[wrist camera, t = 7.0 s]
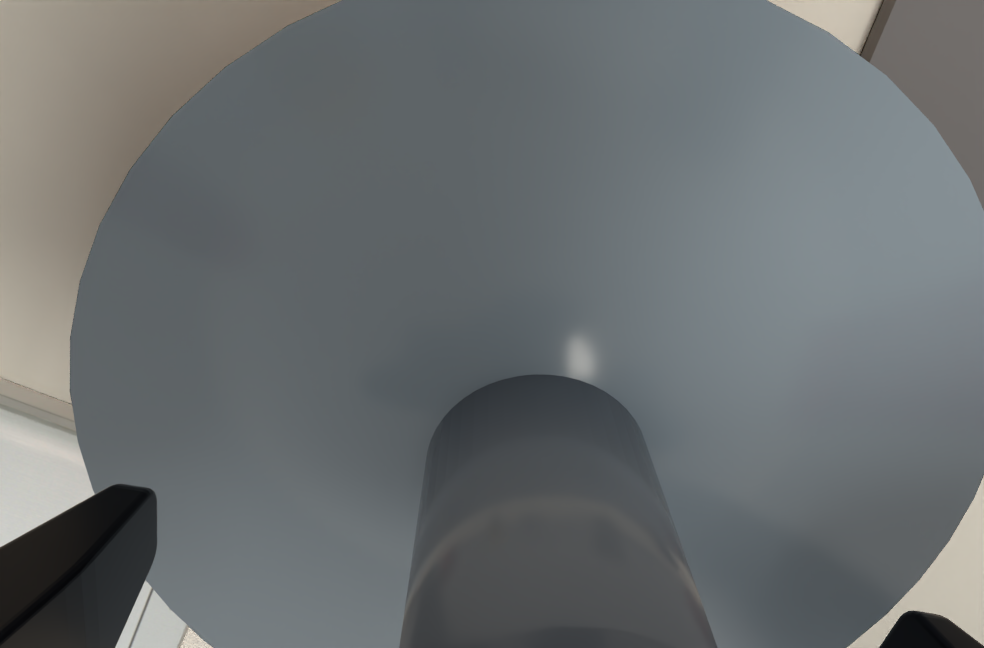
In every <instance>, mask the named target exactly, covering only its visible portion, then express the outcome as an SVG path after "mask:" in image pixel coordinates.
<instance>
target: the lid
mask: <svg viewBox="0 0 984 648" xmlns="http://www.w3.org/2000/svg"><path fill="white" fill-rule="evenodd" d="M70 394H71V401H72V407H73V414H74V420H75V427H76V433H77V440H78V444H79V447H80V451H81V454H82V457H83V460H84V463H85V467H86V470H87V473H88V476H89V479H90V482H91V486H92V489H93V491H94V493H95V494H97V493H98V492H100V491H102V490H104V489H106V488H107V487H109V486H112V485H115V484H128V485H134V486H140V487H146V488H150V489H152V490H153V491H154V492H155V494H156V497H157V550H156V554H155V558H154V561H153V564H152V566H151V569H150V571H149V573H148V575H147V578H146V581H147V582H148V584H149V585H150V586H151V587H152V588H153V589H154V591H155V592H156V593H157V594H158V595H159V596H160V598H161V599H162V600H163V601H164V602H165V603H166V605H167V606H168V607H169V608H170V609H171V610H172V611H173V612H174V613H175V614H176V615H177V616H178V617H179V618H180V619H181V620H182V621H184V622H185V623H186V624H187V625H188V626H189V627H190V628H191V629H192V630H193V631H194V632H195V633H197V634H198V635H199V636H200V637H201V638H202V639H203V640H204V641H205V642H207V643H208V644H209V645H211V646H212V647H213V648H846V647H848V646H849V645H850V644H852V643H853V642H854V641H855V640H856V639H858V638H859V637H860V636H861V635H862V634H863V633H865V632H866V631H867V630H868V629H869V628H871V627H872V626H873V625H874V624H875V623H877V622H878V621H879V620H880V619H881V618H883V617H884V616H885V615H886V614H887V613H888V612H889V611H890V610H891V609H892V608H893V607H894V606H895V605H896V604H897V603H898V602H899V601H900V599H901V598H902V597H903V596H904V595H905V594H906V593H907V592H908V591H909V590H910V589H911V588H912V587H913V586H914V585H915V584H916V583H917V582H918V581H919V580H920V578H921V577H922V576H923V574H924V573H925V572H926V570H927V569H928V568H929V567H930V565H931V564H932V563H933V561H934V560H935V559H936V557H937V556H938V555H939V553H940V552H941V551H942V549H943V548H944V547H945V546H946V544H947V543H948V542H949V540H950V538H951V537H952V535H953V533H954V532H955V530H956V528H957V526H958V525H959V523H960V521H961V520H962V518H963V516H964V514H965V513H966V511H967V509H968V507H969V506H970V504H971V502H972V501H973V499H974V497H975V495H976V492H977V490H978V487H979V485H980V483H981V480H982V478H983V475H984V210H983V208H982V206H981V203H980V201H979V199H978V197H977V194H976V192H975V190H974V187H973V185H972V183H971V181H970V178H969V177H968V175H967V174H966V173H965V171H964V170H963V168H962V167H961V165H960V164H959V162H958V161H957V159H956V158H955V156H954V155H953V153H952V152H951V150H950V149H949V147H948V146H947V144H946V143H945V141H944V140H943V138H942V137H941V135H940V134H939V132H938V131H937V129H936V128H935V126H934V125H933V124H932V123H931V122H930V121H929V119H928V118H927V117H926V116H925V115H924V114H923V113H922V112H921V111H920V110H919V109H918V108H917V107H916V106H915V105H914V104H913V103H912V102H911V101H910V100H909V99H908V97H907V96H906V95H905V94H904V93H903V92H902V91H901V90H900V89H899V88H898V87H897V86H896V85H895V84H894V83H893V82H892V81H891V80H890V79H889V78H888V77H887V76H886V75H885V74H884V73H882V72H881V71H880V70H878V69H877V68H876V67H874V66H873V65H872V64H870V63H869V62H868V61H866V60H865V59H864V58H862V57H861V56H860V55H858V54H857V53H856V52H854V51H853V50H852V49H850V48H849V47H847V46H846V45H845V44H843V43H842V42H841V41H839V40H838V39H837V38H835V37H834V36H833V35H831V34H830V33H829V32H827V31H825V30H823V29H821V28H819V27H817V26H815V25H813V24H811V23H809V22H807V21H805V20H804V19H802V18H800V17H798V16H796V15H794V14H792V13H790V12H788V11H786V10H784V9H782V8H780V7H778V6H776V5H774V4H772V3H771V2H769V1H767V0H342V1H340V2H338V3H335V4H333V5H331V6H329V7H327V8H325V9H323V10H320V11H318V12H316V13H314V14H312V15H310V16H307V17H305V18H303V19H301V20H299V21H297V22H295V23H292V24H290V25H288V26H287V27H285V28H283V29H282V30H280V31H279V32H277V33H276V34H274V35H273V36H271V37H270V38H268V39H267V40H265V41H264V42H262V43H261V44H259V45H258V46H256V47H255V48H253V49H252V50H250V51H249V52H247V53H246V54H244V55H243V56H241V57H240V58H238V59H237V60H235V61H234V62H232V63H231V64H229V65H228V66H226V67H225V68H224V69H223V70H222V71H221V72H219V73H218V74H217V75H216V76H215V77H214V78H213V79H212V80H211V81H210V82H209V83H207V84H206V85H205V86H204V87H203V88H202V89H201V90H200V91H199V92H198V93H197V94H196V95H194V96H193V97H192V98H191V99H190V100H189V101H188V102H187V103H186V104H185V105H184V106H182V107H181V108H180V109H179V110H178V111H177V112H176V113H175V114H174V115H173V116H172V117H171V118H170V119H169V121H168V122H167V123H166V124H165V126H164V127H163V128H162V129H161V131H160V132H159V133H158V135H157V136H156V137H155V138H154V140H153V141H152V142H151V143H150V145H149V146H148V147H147V149H146V150H145V151H144V152H143V154H142V155H141V156H140V157H139V159H138V160H137V161H136V163H135V164H134V165H133V166H132V168H131V169H130V171H129V172H128V174H127V176H126V178H125V180H124V182H123V183H122V185H121V187H120V189H119V191H118V192H117V194H116V196H115V198H114V200H113V202H112V203H111V205H110V207H109V209H108V211H107V212H106V214H105V216H104V218H103V220H102V222H101V223H100V225H99V228H98V231H97V234H96V237H95V240H94V243H93V245H92V248H91V251H90V254H89V257H88V260H87V263H86V265H85V268H84V271H83V274H82V277H81V280H80V284H79V290H78V296H77V301H76V307H75V313H74V319H73V325H72V331H71V336H70Z"/></svg>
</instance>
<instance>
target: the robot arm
mask: <svg viewBox="0 0 984 648" xmlns="http://www.w3.org/2000/svg"><path fill="white" fill-rule="evenodd" d="M156 550H157V497H156V494H155V492H154V491H153V490H152V489H150V488H146V487H140V486H134V485H128V484H115V485H112V486H109V487H107V488H106V489H104V490H102V491H100V492H98V493H97V494H95V495H93V496H91V497H89V498H88V499H86V500H84V501H82V502H80V503H79V504H77V505H75V506H73V507H71V508H70V509H68V510H66V511H64V512H62V513H61V514H59V515H57V516H55V517H53V518H52V519H50V520H48V521H46V522H44V523H43V524H41V525H39V526H37V527H35V528H34V529H32V530H30V531H28V532H26V533H25V534H23V535H21V536H19V537H17V538H16V539H14V540H12V541H10V542H8V543H7V544H5V545H3V546H1V547H0V648H115V647H116V645H117V643H118V640H119V638H120V636H121V634H122V631H123V629H124V627H125V625H126V622H127V620H128V618H129V616H130V613H131V611H132V609H133V607H134V605H135V602H136V600H137V598H138V596H139V593H140V591H141V589H142V587H143V584H144V582H145V580H146V578H147V575H148V573H149V571H150V569H151V566H152V564H153V561H154V558H155V554H156ZM879 648H984V646H983V645H982V644H980V643H979V642H978V641H976V640H975V639H974V638H972V637H971V636H970V635H968V634H967V633H966V632H965V631H963V630H962V629H961V628H959V627H958V626H957V625H955V624H954V623H953V622H951V621H950V620H949V619H947V618H945V617H943V616H941V615H937V614H932V613H925V612H919V611H908V612H906V613H904V614H902V616H901V617H900V618H899V619H898V621H897V622H896V624H895V625H894V627H893V628H892V630H891V631H890V633H889V634H888V636H887V637H886V638H885V640H884V641H883V643H882V644H881V646H880V647H879Z"/></svg>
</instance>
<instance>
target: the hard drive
mask: <svg viewBox="0 0 984 648" xmlns="http://www.w3.org/2000/svg"><path fill="white" fill-rule="evenodd" d="M93 495H95V493H94V491H93V489H92V486H91V482H90V479H89V476H88V473H87V470H86V467H85V463H84V460H83V457H82V454H81V451H80V447H79V444H78V440H77V433H76V427H75V420H74V414H73V407H72V405H71V404H69V403H66V402H63V401H61V400H58V399H55V398H53V397H50V396H47V395H45V394H42V393H39V392H37V391H34V390H31V389H29V388H26V387H23V386H21V385H18V384H15V383H13V382H10V381H7V380H5V379H2V378H0V547H1V546H3V545H5V544H7V543H8V542H10V541H12V540H14V539H16V538H17V537H19V536H21V535H23V534H25V533H26V532H28V531H30V530H32V529H34V528H35V527H37V526H39V525H41V524H43V523H44V522H46V521H48V520H50V519H52V518H53V517H55V516H57V515H59V514H61V513H62V512H64V511H66V510H68V509H70V508H71V507H73V506H75V505H77V504H79V503H80V502H82V501H84V500H86V499H88V498H89V497H91V496H93ZM188 628H189V626H188V625H187V624H186V623H185V622H184V621H182V620H181V619H180V618H179V617H178V616H177V615H176V614H175V613H174V612H173V611H172V610H171V609H170V608H169V607H168V606H167V605H166V603H165V602H164V601H163V600H162V599H161V598H160V596H159V595H158V594H157V593H156V592H155V591H154V589H153V588H152V587H151V586H150V585H149V584H148V582H147V581H146V580H145V582H144V584H143V587H142V589H141V591H140V593H139V596H138V598H137V600H136V602H135V605H134V607H133V609H132V611H131V613H130V616H129V618H128V620H127V622H126V625H125V627H124V629H123V631H122V634H121V636H120V638H119V640H118V643H117V645H116V647H115V648H180V646H181V644H182V641H183V639H184V637H185V634H186V632H187V630H188Z"/></svg>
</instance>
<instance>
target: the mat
mask: <svg viewBox="0 0 984 648" xmlns="http://www.w3.org/2000/svg"><path fill="white" fill-rule="evenodd" d="M861 57H862V58H864V59H865V60H866V61H868V62H869V63H870V64H872V65H873V66H874V67H876V68H877V69H878V70H880V71H881V72H882V73H884V74H885V75H886V76H887V77H888V78H889V79H890V80H891V81H892V82H893V83H894V84H895V85H896V86H897V87H898V88H899V89H900V90H901V91H902V92H903V93H904V94H905V95H906V96H907V97H908V99H909V100H910V101H911V102H912V103H913V104H914V105H915V106H916V107H917V108H918V109H919V110H920V111H921V112H922V113H923V114H924V115H925V116H926V117H927V118H928V119H929V121H930V122H931V123H932V124H933V125H934V126H935V128H936V129H937V131H938V132H939V134H940V135H941V137H942V138H943V140H944V141H945V143H946V144H947V146H948V147H949V149H950V150H951V152H952V153H953V155H954V156H955V158H956V159H957V161H958V162H959V164H960V165H961V167H962V168H963V170H964V171H965V173H966V174H967V175H968V177H969V178H970V181H971V183H972V185H973V187H974V190H975V192H976V194H977V197H978V199H979V201H980V203H981V206H982V208H983V210H984V0H884V2H883V4H882V6H881V9H880V11H879V13H878V16H877V18H876V21H875V23H874V25H873V28H872V30H871V32H870V35H869V37H868V39H867V42H866V44H865V47H864V49H863V51H862V54H861Z"/></svg>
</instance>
